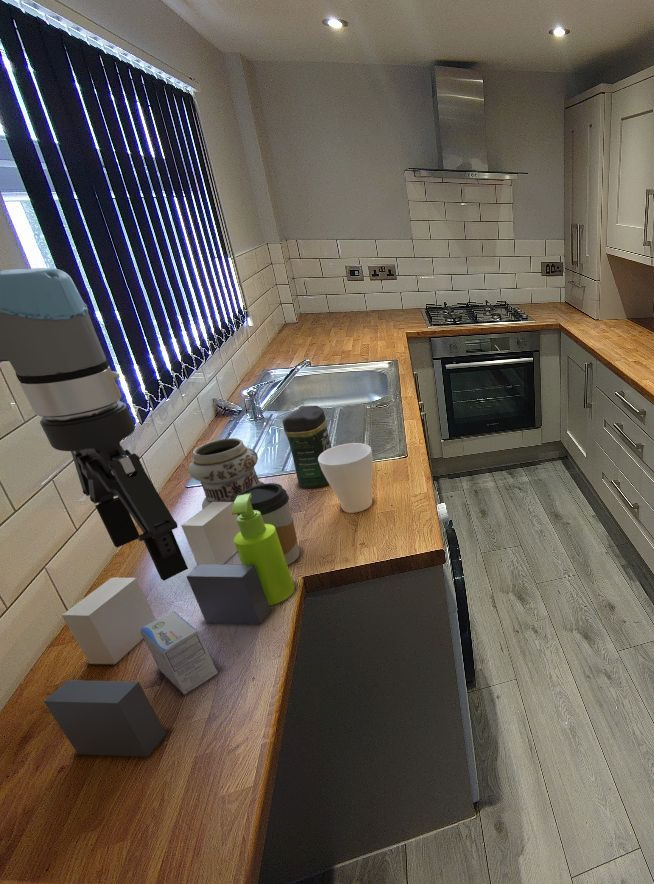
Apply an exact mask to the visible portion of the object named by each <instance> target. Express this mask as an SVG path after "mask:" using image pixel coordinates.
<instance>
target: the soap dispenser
mask: <svg viewBox="0 0 654 884" xmlns="http://www.w3.org/2000/svg"><path fill="white" fill-rule="evenodd" d="M251 497H252V495H251V493H250V494H244V495H239V496H237V497H236V499H235V501H234V504H233V508H232V515H236V514H240V515H239V516H238V517H237V519H236V520H237V523H238V526H239V529H240V532H239V533H238V534H237V535H236V536H235V537H234V543H235V546H236V549H237V554H238V556H239V559H240V562H241V565H255V568H256V570H257V573H258V576H259V579H260V582H261V584H262V587H263V590H264V593H265V596H266V598H267V601H268V604H269V606H273V605H277V604H279V603H281V602H284V601H285V600H287V599H288V598H289V597H290V596H291V595H293V593H294V592H295V585H294V582H293V578H292V575H291V572H290V569H289V565H287V563H286V560H285V557H284V554H283V551H282V547H281V544H280V541H279V538H278V535H277V532H276V529H275V527H274V526H273V525H271V524H264V521H263V518H262V515H261V512H260V511H258V510H253V508H252V505H251V502H250V499H251Z"/></svg>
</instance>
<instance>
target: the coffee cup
mask: <svg viewBox="0 0 654 884" xmlns="http://www.w3.org/2000/svg"><path fill="white" fill-rule="evenodd" d="M250 493H251V495H252V497H251V499H250V502H251V505H252V508H253V510H258V511H260V512H261V515H262V518H263V521H264V524H271V525H273V526H274V527H275V529H276V532H277V535H278V538H279V541H280V544H281V547H282V551H283V554H284V557H285V560H286V563H287V566H289V565H290V564H292V563H294V562H296V560H297V559H298V558H299V557H300V553H301V552H300V547H299V543H298V537H297V532H296V527H295V522H294V518H293V515H292V510H291V506H290V505H291V504H290V501H289V500H290V496H289V495H288V492H287V490H286V489H285V488H284V487H283V486H282V485H281V484H279V483H275V482H274V483H273V482H269V483H265V484H260V485H257V486H253V487H251V488H248V489H246V490H244V491H242V492H241V493H239V494H238V496H239V495H244V494H250ZM238 515H240V514H238Z"/></svg>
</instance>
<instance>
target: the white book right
mask: <svg viewBox="0 0 654 884" xmlns="http://www.w3.org/2000/svg"><path fill="white" fill-rule="evenodd" d="M232 508H233V502H212V503H210V504H209V505H208V506H206V507H205V508H204V509H202V508H201V510H200V511H199V512H197V513H196V514H194V515H193V516H192V517H190V518H189V519H188V520H186V521H185V522H184V523H182V524H180V527H181V529H182V532H183V534H184V536H185V539H186V540H187V543H188V546H189V548H190V550H191V553H192V555H193V558H194V560H195V562H196V565H197V567H198V566H199V565H200V564H219V565H225V563H226V562H227V561H228V560H230V559H231V558H232V557H233V556H235V554H236V553H238V551H237V549H236V546H235V543H234V537H235V536H236V535H237V534H238V533H239V532H240V529H239V526H238V523H237V520H236V519H237V517H238V516H237V514H236V515H232Z"/></svg>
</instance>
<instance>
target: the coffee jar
mask: <svg viewBox="0 0 654 884" xmlns="http://www.w3.org/2000/svg"><path fill="white" fill-rule="evenodd" d="M282 428H283V432H284V434H285V436H286V438H287V441H288V444H289V447H290V452H291V457H292V461H293V465H294V469H295V474H296V479H297V482H298V483H297V484H298V485H299V487H300V488H304V489H315V488H321V487H325V486H328V485H329V483H328V481H327V479H326V478H325V476H324V474H323V472H322V470H321V467H320V464H319V462H318V457H319V455H320V454H321V453H323V452H324V451H326V450H327V449H330V448H332V447H333V446H332V444H331V439H330V436H329V433H328V431H329V430H328V423H327V418H326V415H325V411H324V410H323V408H321V407H320V406H319V405H300V406H299V407H298V408H296V409H294V410H293V411H291V412H290V413H288V414H287V416H285V417H284V418H283V419H282Z"/></svg>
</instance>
